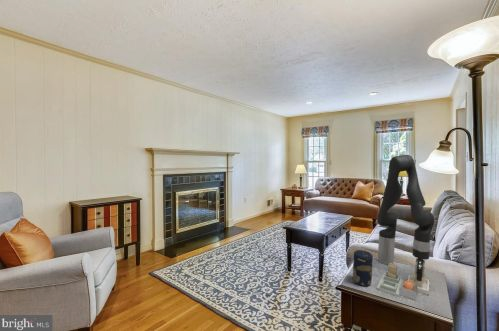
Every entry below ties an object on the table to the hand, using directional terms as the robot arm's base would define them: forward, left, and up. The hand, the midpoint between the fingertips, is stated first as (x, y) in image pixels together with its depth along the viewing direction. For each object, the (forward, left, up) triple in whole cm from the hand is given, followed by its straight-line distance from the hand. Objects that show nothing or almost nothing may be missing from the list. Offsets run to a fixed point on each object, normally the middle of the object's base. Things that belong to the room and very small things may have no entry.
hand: (419, 278), depth 133 cm
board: (+9, -12, -4) cm, 16 cm away
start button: (+13, -4, -4) cm, 14 cm away
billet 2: (0, 0, -1) cm, 1 cm away
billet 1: (+3, -12, -3) cm, 13 cm away
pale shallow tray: (+1, 0, -4) cm, 4 cm away
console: (+13, -4, -4) cm, 14 cm away
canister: (+16, -25, -5) cm, 30 cm away
